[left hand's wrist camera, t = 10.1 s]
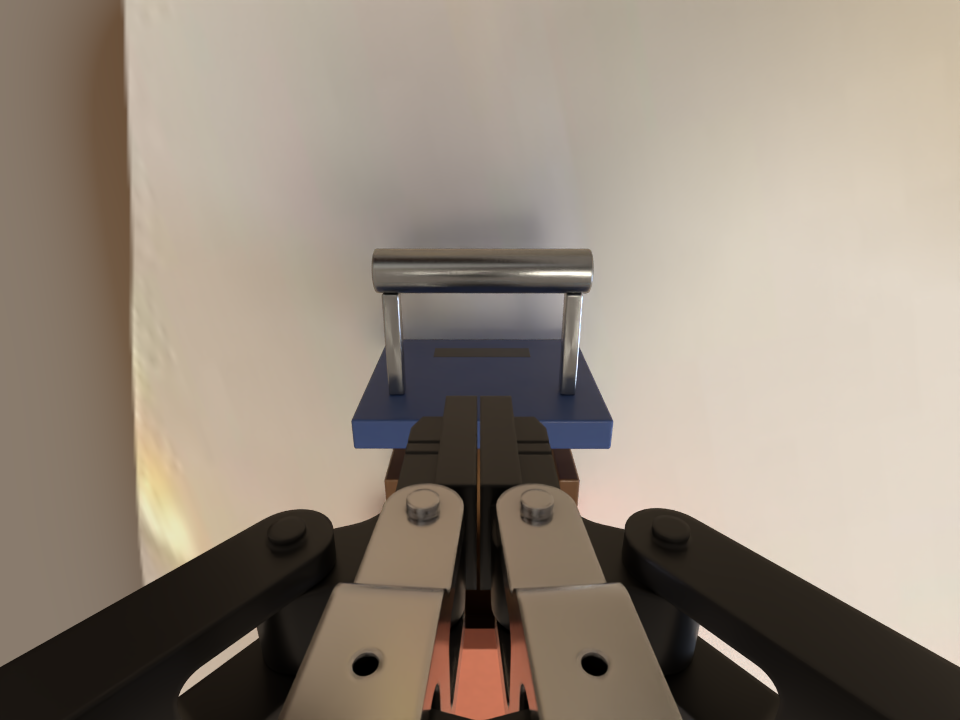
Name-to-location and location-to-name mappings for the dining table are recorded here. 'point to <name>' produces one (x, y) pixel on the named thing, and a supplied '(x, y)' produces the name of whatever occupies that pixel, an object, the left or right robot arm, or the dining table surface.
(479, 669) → the cabinet
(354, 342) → the dining table surface
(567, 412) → the drawer
